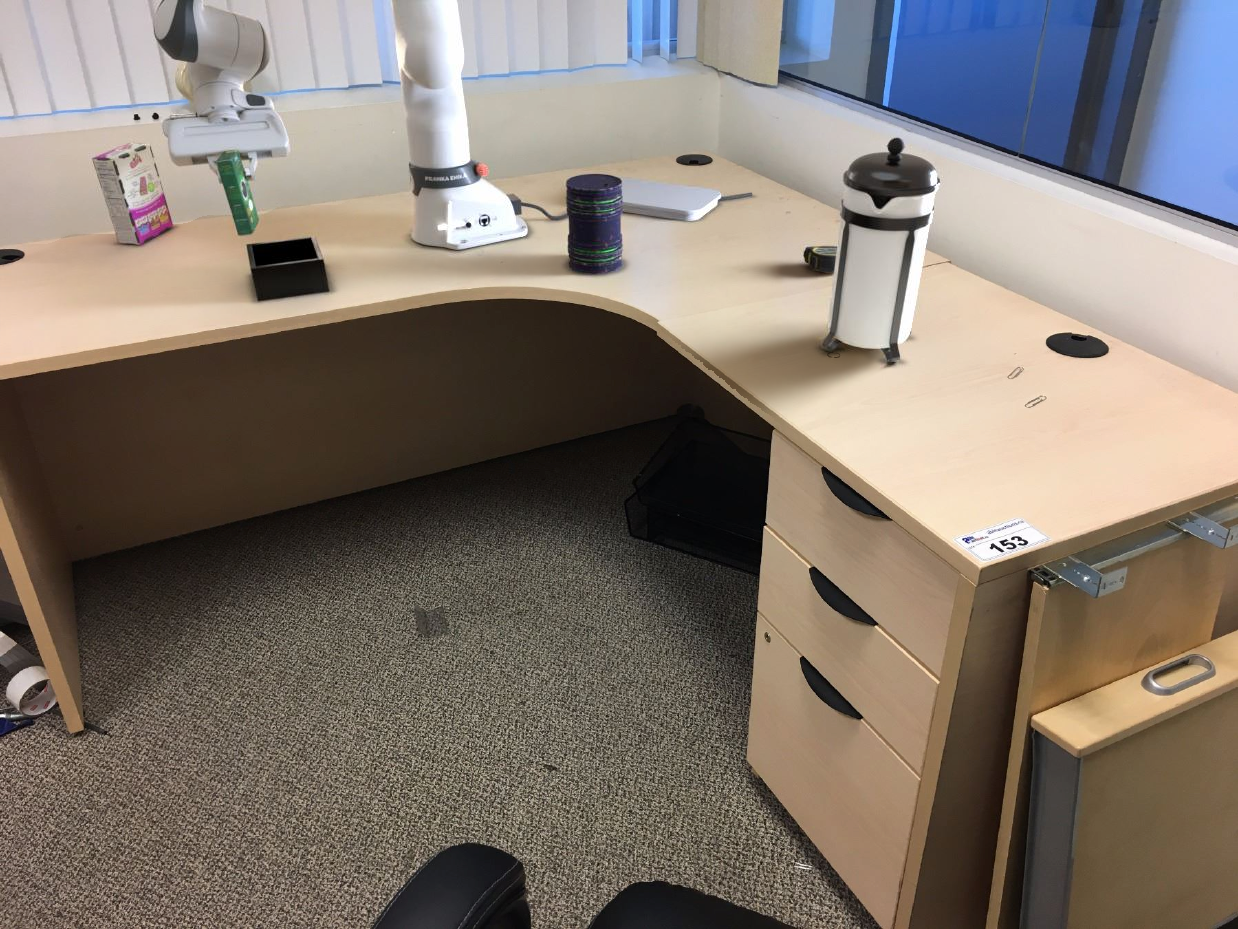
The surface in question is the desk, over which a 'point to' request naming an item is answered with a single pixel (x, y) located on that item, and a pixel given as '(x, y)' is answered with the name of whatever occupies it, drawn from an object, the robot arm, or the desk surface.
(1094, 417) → the desk surface
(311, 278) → the desk tray
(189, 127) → the robot arm
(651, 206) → the tablet
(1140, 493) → the desk surface
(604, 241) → the storage jar
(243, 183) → the coffee box
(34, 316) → the desk surface
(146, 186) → the candy bar box
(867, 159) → the coffee press
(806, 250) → the tape measure
